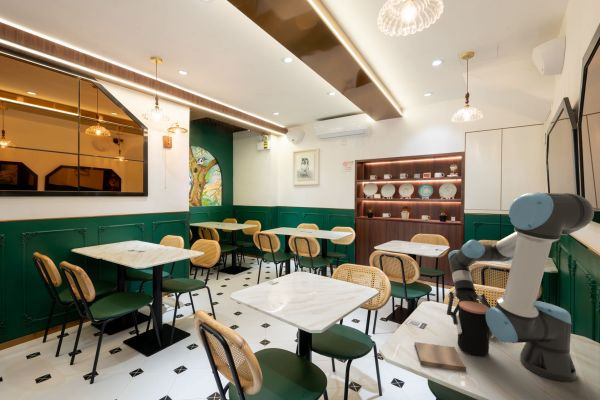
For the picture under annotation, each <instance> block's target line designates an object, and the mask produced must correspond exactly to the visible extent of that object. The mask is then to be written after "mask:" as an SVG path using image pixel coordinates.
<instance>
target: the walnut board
mask: <svg viewBox="0 0 600 400" xmlns="http://www.w3.org/2000/svg"><path fill="white" fill-rule="evenodd" d="M414 349H415V351H416V354H417V358H418V361H419V364H420V365H421V366H428V367H435V368H442V369H447V370H448V369H449V370H456V371H463V372H467V366H466V365H465V363H464V361H463V359H462V358H461V356H460V354H459V353H458V350H457V349H456V348H455V347H454V346H450V345H449V346H448V345H440V344H434V343H427V342H426V343H425V342H419V341H417V342H416V341H414Z"/></svg>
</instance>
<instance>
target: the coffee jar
mask: <svg viewBox="0 0 600 400" xmlns="http://www.w3.org/2000/svg"><path fill="white" fill-rule="evenodd" d="M458 302H459V301H458ZM459 306H460V308H459V310H458V312H457V315H459V320H460V325H461V329H462V333H461V334H458V333H457V346H458V347H459V349H460V351H462V352H464V353H465V354H468V356H469V355H470V356H474V357H477V358H480V357H481V358H482V357H486V356H487V355H488V354H489V350H490V335H489V327H488V325H487V322H486V311H487V309H488V308H489V307H487V306H486V305H483V304H482V303H481V302H479V303H477V302H472V301H461V302H459Z"/></svg>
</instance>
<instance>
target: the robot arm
mask: <svg viewBox="0 0 600 400" xmlns="http://www.w3.org/2000/svg"><path fill="white" fill-rule="evenodd" d="M594 215H595V210H594V207H593V205H592V204H591V202H590V201H589V200H588V199H586V198H585V197H583V196H581V195H579V194H576V193H569V192H567V193H566V192H565V193H561V192H560V193H559V192H557V193H555V192H539V191H538V192H534V193H533V192H532V193H529V192H528V193H524V194H522V195H520V196H518V197H517V198H515V199H514V200H513V202H512V203H511V204H510V207H509V210H508V217H509V218H510V220H509V221H510V223H511V224H512V225H513V227H514V228H513V230H514V232H513V233H511V234H509V235H508V236H505V237H504V238H502V239H500V240H499V241H496V242H494V243H493V244H492V243H491V244H489V243H487V244H483V243H482V242H480V241H479V240H476V239H470V240H468V241H466V243H464V244H463V245H462V246H461V248H460V249H455V250H452V251H450V252H449V253H448V264H449V269H450V271H451V274H452V275H451V276H452V280H453V285H454V289H455V290H454V291H455V292H453V291H449V293H448V305H447V310H446V316H450V317H451V318H452V322H453V324H454V325H455V326H456V331H457V335H458V334H461V333H462V329H461V325H460V320H459V315H458V313H459V308H460V306H459V302H461V301H472V302H477V303H481V304H483V305H486V306H487V307H489V308H488V309H487V311H486V322H487V325H488V327H489V339H493V338H494V337H495V338H496V339H497V340H499V341H500V342H503V343H507V344H508V343H509V344H521V343H525V344H524V346H523V348H522V349H521V351H520V353H519V362H520V363H521V364H522V365H523V366H524V367H525V368H526V369H527V370H529V371H531V372H532V373H534V374H536V375H539V376H541V377H544V378H547V379H550V380H552V381H553V380H554V381H558V382H563V383H567V382H568V383H569V382H573V381H576V378H577V370H576V367H575V364H574V361H573V358H572V357H571V353H570V352H571V351H570V350H571V336H572V334H571V332H572V319H571V318H572V316H571V314H570V312H569V311H568V310H566V309H565V308H562V307H559V306H557V305H554V304H552V303H548V302H543V301H541V300H537V298H538V295H539V291H540V287H541V283H542V279H543V276H544V274H545V270H546V266H547V262H548V259H549V256H550V251H551V247H552V243H554V242H557V241H559V240H561V237H562V236H568V235H570V234H573V233H575V232H578V231H580V230H581V229H584V228H585V227H587V226H588V225H589V224H590V223H591V222H592V221H593V218H594V217H595V216H594ZM510 261H511V264H510V269H509V272H508V277H507V282H506V285H505V290H504V294H503V295H501V296H499V297H497V300H496V304H495V306H491V305H490V304H489V302H488V300H487V297H486V295H485V294H481V295H480V294H477V292H476V289H475V285H474V282H473V278H472V274H471V269H470V267H471V266H472V265H473V264H475V262H499V263H501V262H502V263H503V262H504V263H505V262H510ZM455 298H457V299H458V302H457V304H456V306H455V308H454V310H453V311H452V309H453V304H454V299H455ZM479 301H480V302H479Z"/></svg>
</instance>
